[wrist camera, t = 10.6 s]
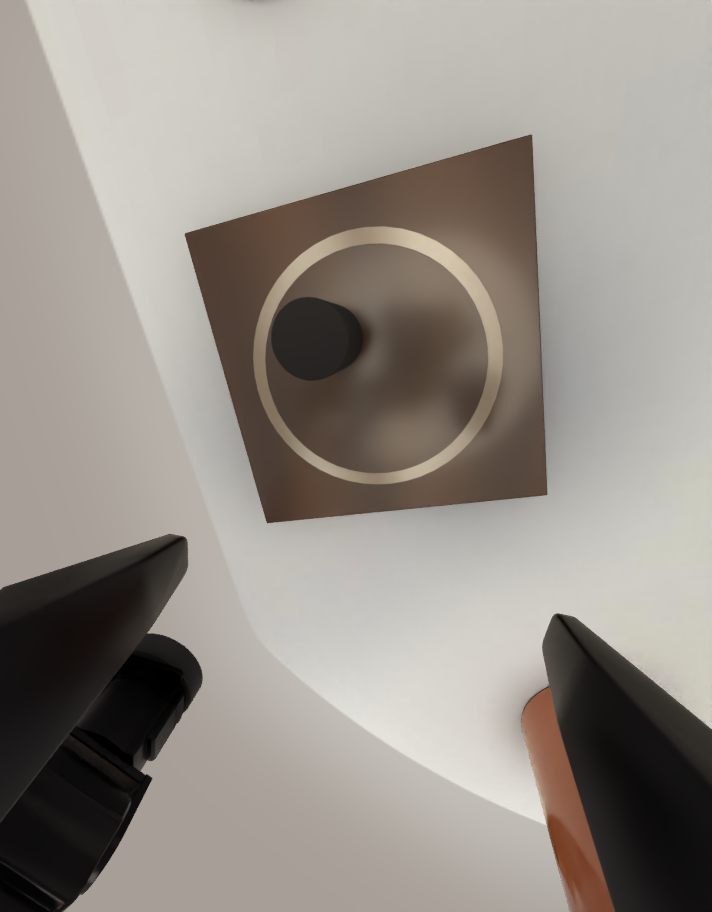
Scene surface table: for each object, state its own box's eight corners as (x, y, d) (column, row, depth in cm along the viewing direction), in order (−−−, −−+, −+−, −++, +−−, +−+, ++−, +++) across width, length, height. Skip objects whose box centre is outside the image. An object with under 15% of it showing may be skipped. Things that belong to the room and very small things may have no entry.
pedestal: (504, 745, 27) (558, 1003, 17) (545, 665, 24) (641, 913, 14) (618, 779, 26) (748, 1070, 16) (674, 701, 24) (873, 989, 13)
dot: (295, 363, 19) (266, 371, 16) (305, 297, 18) (275, 288, 14) (355, 377, 19) (340, 388, 15) (368, 311, 18) (355, 306, 14)
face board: (272, 515, 24) (265, 525, 23) (195, 237, 19) (181, 232, 18) (541, 487, 21) (548, 496, 19) (525, 144, 16) (533, 130, 15)
